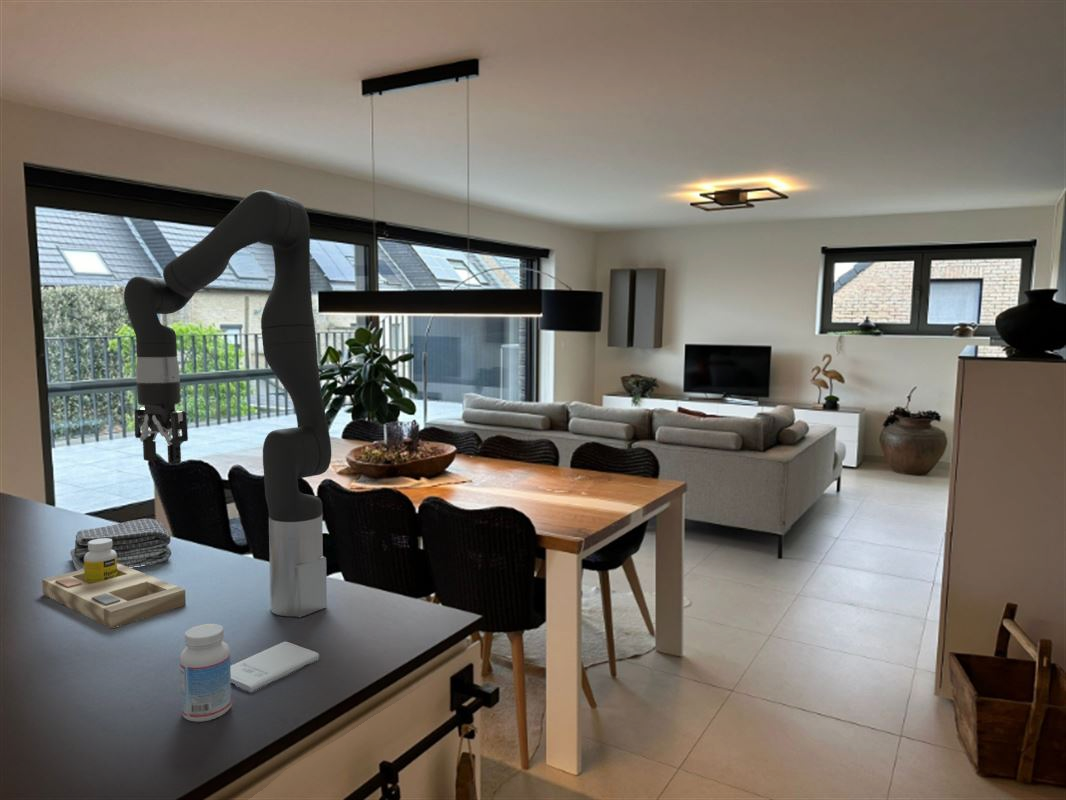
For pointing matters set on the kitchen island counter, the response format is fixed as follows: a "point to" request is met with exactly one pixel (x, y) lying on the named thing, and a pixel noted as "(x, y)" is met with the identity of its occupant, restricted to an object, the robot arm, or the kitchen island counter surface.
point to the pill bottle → (205, 674)
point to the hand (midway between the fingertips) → (162, 461)
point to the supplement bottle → (100, 561)
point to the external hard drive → (269, 664)
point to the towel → (127, 543)
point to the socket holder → (115, 595)
